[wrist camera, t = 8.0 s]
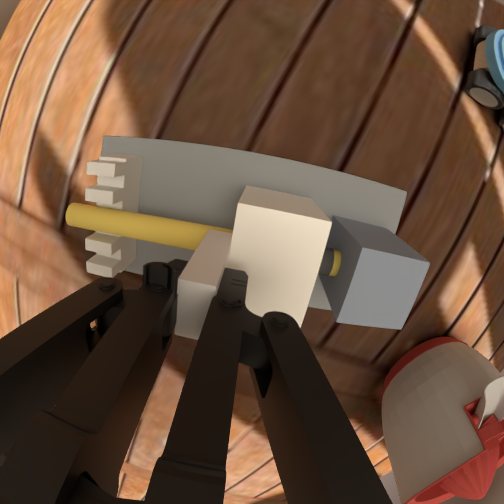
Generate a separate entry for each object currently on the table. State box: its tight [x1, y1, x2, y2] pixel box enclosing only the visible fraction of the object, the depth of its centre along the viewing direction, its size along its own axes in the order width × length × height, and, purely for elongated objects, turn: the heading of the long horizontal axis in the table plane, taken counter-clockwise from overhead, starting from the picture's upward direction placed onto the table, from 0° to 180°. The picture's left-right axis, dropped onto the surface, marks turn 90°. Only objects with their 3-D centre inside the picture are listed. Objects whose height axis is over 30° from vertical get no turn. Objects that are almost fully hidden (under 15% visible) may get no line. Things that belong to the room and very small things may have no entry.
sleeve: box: [227, 185, 332, 328], centre depth 19 cm, size 5×7×7 cm
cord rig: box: [66, 136, 430, 330], centre depth 19 cm, size 26×12×8 cm, turn 80°
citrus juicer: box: [381, 337, 504, 504], centre depth 19 cm, size 16×17×20 cm
